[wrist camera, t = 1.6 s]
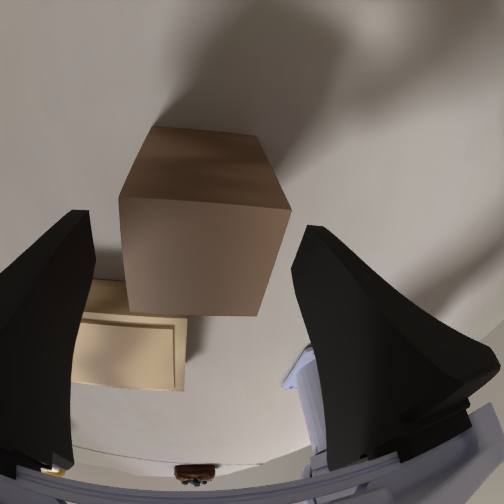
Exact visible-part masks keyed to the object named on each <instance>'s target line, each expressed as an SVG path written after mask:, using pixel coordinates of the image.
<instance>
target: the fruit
mask: <svg viewBox="0 0 504 504" xmlns="http://www.w3.org/2000/svg"><path fill="white" fill-rule="evenodd" d="M65 471H66V470H63V469H59V472H49V471H47V472H46V471H42V472H43V473H45V474H49V475H53V476H57V477H62V476H63V475H64V474H65Z"/></svg>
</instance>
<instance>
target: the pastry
mask: <svg viewBox="0 0 504 504" xmlns="http://www.w3.org/2000/svg"><path fill="white" fill-rule="evenodd" d="M213 466H214V465H180V466H175V469H174V470H175V471H174V472H175V473H174V475H175V477H176V479H178V480H180V481H181V482H182V484H184V485H187V484H188V483H189V482H190V483H191V484H194V486H195V487H197V486H200V483H201V482H202V484H206V483H207V482H208V481H212V479H213V478H214V476H215V469H214V467H213Z"/></svg>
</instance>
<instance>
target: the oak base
mask: <svg viewBox="0 0 504 504" xmlns="http://www.w3.org/2000/svg"><path fill="white" fill-rule="evenodd" d="M187 319H188V316H187V315H179V314H158V313H141V312H130V308H129V301H128V295H127V287H126V281H111V280H97V279H92V284H91V288H90V291H89V295H88V298H87V302H86V305H85V309H84V312H83V316H82V320H81V323H80V327H79V331H78V335H77V339H76V343H75V349H74V354H73V363H72V374H71V382H76V383H83V384H90V385H98V386H107V387H117V388H128V389H141V390H158V391H184V382H185V356H186V336H187Z"/></svg>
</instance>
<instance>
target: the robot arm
mask: <svg viewBox="0 0 504 504" xmlns="http://www.w3.org/2000/svg"><path fill="white" fill-rule="evenodd" d="M95 263H96V255H95V250H94V244H93V237H92V230H91V223H90V216H89V210H71V211H70V212H68V213H67V214H66V215H65V216H64V217H62V218H61V219H60V220H59V221H58V222H57V223H55V224H54V225H53V226H52V227H51V228H50V229H49V230H48V231H47V232H45V233H44V234H43V235H42V236H41V237H40V238H39V239H38V240H37V241H36V242H35V243H34V244H32V245H31V246H30V247H29V248H28V249H27V250H26V251H25V252H23V253H22V254H21V255H20V256H19V257H18V258H17V259H16V260H15V261H14V262H12V263H11V264H10V265H9V266H8V267H7V268H6V269H5V270H3V271H2V272H1V273H0V504H67V503H66V502H65V501H68V502H72V503H77V504H292V503H297V502H301V501H303V502H304V504H465V503H466V502H467V501H468V500H469V499H470V498H471V496H472V495H473V494H474V493H475V492H476V490H477V489H478V488H479V487H480V486H481V485H482V483H483V482H484V481H485V480H486V479H487V478H488V477H489V475H490V474H491V473H492V472H493V471H494V470H495V469H496V468H497V467H498V466H499V465H500V464H501V463H502V462H504V433H503V431H502V428H501V426H500V423H499V421H498V418H497V416H496V413H495V411H494V408H493V406H492V404H491V403H490V402H489V403H487V404H486V405H484V406H482V407H481V408H479V409H477V410H476V411H474V412H472V413H471V414H469V415H468V414H467V411H466V409H467V408H469V407H470V402H469V400H468V397H469V396H471V395H472V394H473V393H475V392H476V391H477V390H479V389H480V388H481V387H482V386H483V385H485V384H486V383H487V382H488V381H490V380H491V379H492V378H493V377H494V376H495V375H496V374H497V373H498V372H499V370H500V367H501V365H500V364H499V361H498V359H497V358H496V356H495V354H494V352H493V351H492V349H491V348H490V347H488V346H486V345H484V344H482V343H480V342H478V341H476V340H474V339H471V338H469V337H467V336H465V335H463V334H462V333H460V332H458V331H456V330H454V329H453V328H451V327H449V326H447V325H446V324H444V323H442V322H441V321H439V320H437V319H436V318H434V317H433V316H431V315H430V314H428V313H427V312H425V311H424V310H422V309H421V308H420V307H418V306H417V305H415V304H414V303H413V302H411V301H410V300H409V299H407V298H406V297H405V296H403V295H402V294H401V293H399V292H398V291H397V290H396V289H394V288H393V287H392V286H391V285H390V284H388V283H387V282H386V281H385V280H384V279H383V278H381V277H380V276H379V275H378V274H377V273H376V272H375V271H373V270H372V269H371V268H370V267H369V266H368V265H367V264H366V263H365V262H363V261H362V260H361V259H360V258H359V257H358V256H357V255H356V254H355V253H354V252H353V251H351V250H350V249H349V248H348V247H347V246H346V245H345V244H344V243H343V242H342V241H341V240H339V239H338V238H337V237H336V236H335V235H334V234H332V233H331V232H330V231H329V230H327V229H326V228H325V227H323V226H314V225H307V227H306V230H305V233H304V235H303V238H302V241H301V243H300V246H299V249H298V251H297V254H296V257H295V259H294V262H293V264H292V267H291V273H292V279H293V285H294V290H295V295H296V298H297V301H298V304H299V307H300V310H301V314H302V317H303V320H304V323H305V326H306V329H307V332H308V335H309V338H310V341H311V344H312V347H309V348H307V349H305V350H304V352H303V354H302V355H301V357H300V358H299V360H298V361H297V363H296V364H295V366H294V368H293V369H292V371H291V372H290V374H289V375H288V377H287V378H286V380H285V381H284V383H283V384H282V389H284V390H286V389H296V388H297V389H298V393H299V397H300V401H301V405H302V409H303V413H304V417H305V421H306V425H307V429H308V433H309V437H310V441H311V445H312V449H313V453H314V456H313V457H310V458H309V460H310V464H308V465H306V467H305V469H304V471H303V472H302V475H301V480H296V481H290V482H285V483H280V484H273V485H266V486H259V487H251V488H242V489H231V490H216V491H178V492H177V491H152V490H137V489H126V488H118V487H110V486H103V485H97V484H91V483H85V482H80V481H75V480H70V479H65V478H61V477H57V476H53V475H49V474H45V473H42V472H41V468H44V469H48V470H52V467H55V468H59V469H63V470H68V469H70V468H71V467H72V466H73V465H74V458H73V449H72V439H71V423H70V391H71V374H72V363H73V354H74V349H75V343H76V339H77V335H78V331H79V327H80V323H81V320H82V316H83V312H84V309H85V305H86V302H87V298H88V295H89V291H90V288H91V284H92V279H93V274H94V268H95Z"/></svg>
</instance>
